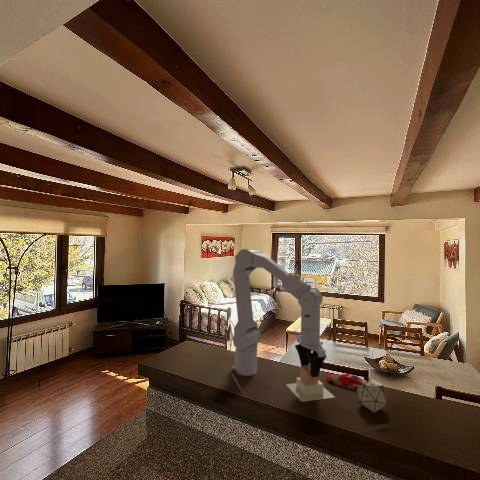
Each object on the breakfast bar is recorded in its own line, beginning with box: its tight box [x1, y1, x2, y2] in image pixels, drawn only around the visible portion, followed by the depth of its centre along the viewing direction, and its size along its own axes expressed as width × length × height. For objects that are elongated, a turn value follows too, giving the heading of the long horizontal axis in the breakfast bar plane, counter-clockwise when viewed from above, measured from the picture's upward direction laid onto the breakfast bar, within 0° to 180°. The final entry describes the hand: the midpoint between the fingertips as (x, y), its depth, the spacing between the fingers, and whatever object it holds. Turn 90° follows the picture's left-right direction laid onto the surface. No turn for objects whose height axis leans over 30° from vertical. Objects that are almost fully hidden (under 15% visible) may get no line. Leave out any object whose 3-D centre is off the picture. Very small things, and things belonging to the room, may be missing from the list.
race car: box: [325, 373, 368, 390], centre depth 98 cm, size 13×5×4 cm, turn 57°
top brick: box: [299, 364, 319, 384], centre depth 93 cm, size 4×4×4 cm
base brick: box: [295, 376, 324, 396], centre depth 93 cm, size 6×6×3 cm
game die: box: [353, 376, 391, 414], centre depth 83 cm, size 9×8×10 cm
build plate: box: [285, 382, 336, 403], centre depth 93 cm, size 11×11×1 cm
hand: (309, 372), depth 93 cm, fingers open, 6 cm apart
